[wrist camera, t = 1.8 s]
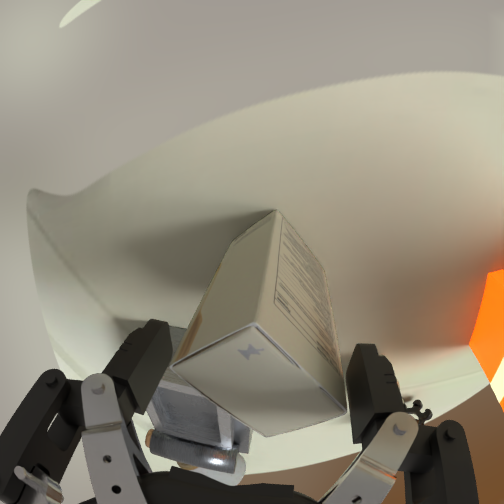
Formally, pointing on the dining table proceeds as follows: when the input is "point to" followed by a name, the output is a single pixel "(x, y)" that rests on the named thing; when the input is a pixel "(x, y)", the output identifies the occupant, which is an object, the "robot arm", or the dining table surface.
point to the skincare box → (266, 335)
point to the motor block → (193, 424)
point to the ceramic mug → (220, 476)
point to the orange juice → (491, 333)
